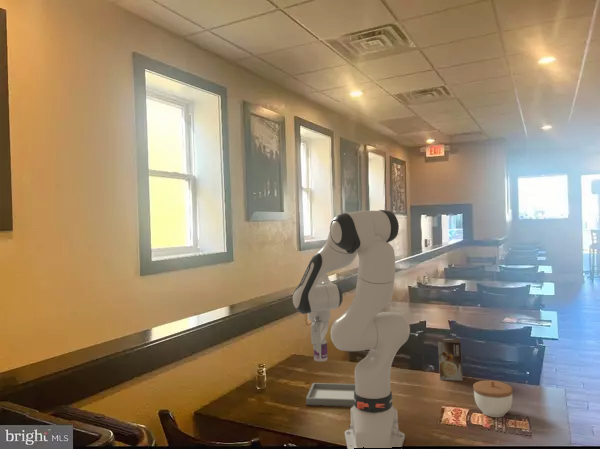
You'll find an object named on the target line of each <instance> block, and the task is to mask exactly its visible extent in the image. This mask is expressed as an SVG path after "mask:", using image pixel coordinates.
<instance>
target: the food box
mask: <svg viewBox="0 0 600 449" xmlns="http://www.w3.org/2000/svg"><path fill="white" fill-rule="evenodd" d="M437 340H438V341H437V343H438V344H437V346H438V349H437V350H438V366H439V368H438V369H439V371H438V372H439V380H440V381H458V382H459V381H460V382H463V380H464V379H463V364H462V362H463V361H462V348H461V345H462V344H461V338H448V337H447V338H446V337H445V338H443V337H441V338H440V337H438V338H437Z"/></svg>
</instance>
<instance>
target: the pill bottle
mask: <svg viewBox="0 0 600 449" xmlns="http://www.w3.org/2000/svg"><path fill="white" fill-rule="evenodd" d="M312 345H313V358H314V359H313V360H314V361H315V362H327V360H328V355H329V354H328V341H327V339H326V335H324V339H323V341H322V343H321V347H322V351H321V353H317V349H316V345H315V344H312Z"/></svg>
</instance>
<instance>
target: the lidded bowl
mask: <svg viewBox="0 0 600 449" xmlns="http://www.w3.org/2000/svg"><path fill="white" fill-rule="evenodd" d="M472 387H473V396H474V402H475V404H476V406H477V408H478V409H479V410H480V411H481V412H482V414H483V415H484V416H487V417H491V418H502V417H504V416H505V414H507V413H508V412H509V411H510V409H511V407H512V405H513V392H514V389H513V387H512V386H511V385H509V384H507V383H505V382H502V381H498V380H479V381H476V382H475V383H473V385H472Z"/></svg>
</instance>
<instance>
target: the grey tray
mask: <svg viewBox="0 0 600 449" xmlns="http://www.w3.org/2000/svg"><path fill="white" fill-rule="evenodd" d="M354 391H355V383H331V382H329V383H326V382H323V383H322V382H312V384H311V386H310V389H309V390H308V393H307V395H306V398H305V405H306V406H320V405H322V407H323V406H327V407H346V408H347V407H350V408H352V407H353V406H354Z"/></svg>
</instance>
